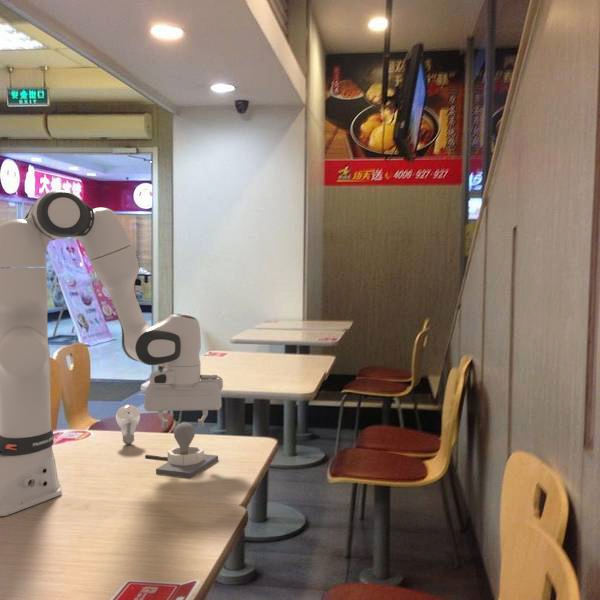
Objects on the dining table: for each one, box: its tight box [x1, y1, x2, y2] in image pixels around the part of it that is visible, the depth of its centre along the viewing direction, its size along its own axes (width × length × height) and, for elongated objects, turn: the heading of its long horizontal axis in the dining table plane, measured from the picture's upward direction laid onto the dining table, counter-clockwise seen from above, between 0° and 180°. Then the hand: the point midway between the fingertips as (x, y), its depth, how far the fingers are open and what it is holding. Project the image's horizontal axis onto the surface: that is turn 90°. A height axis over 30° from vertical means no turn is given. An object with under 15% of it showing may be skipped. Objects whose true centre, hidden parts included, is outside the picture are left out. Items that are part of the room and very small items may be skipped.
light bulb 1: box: [115, 404, 141, 446], centre depth 185 cm, size 7×7×12 cm
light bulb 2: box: [173, 422, 196, 455], centre depth 166 cm, size 5×6×10 cm
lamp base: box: [144, 444, 219, 479], centre depth 166 cm, size 15×20×4 cm
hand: (182, 426), depth 165 cm, fingers open, 8 cm apart
